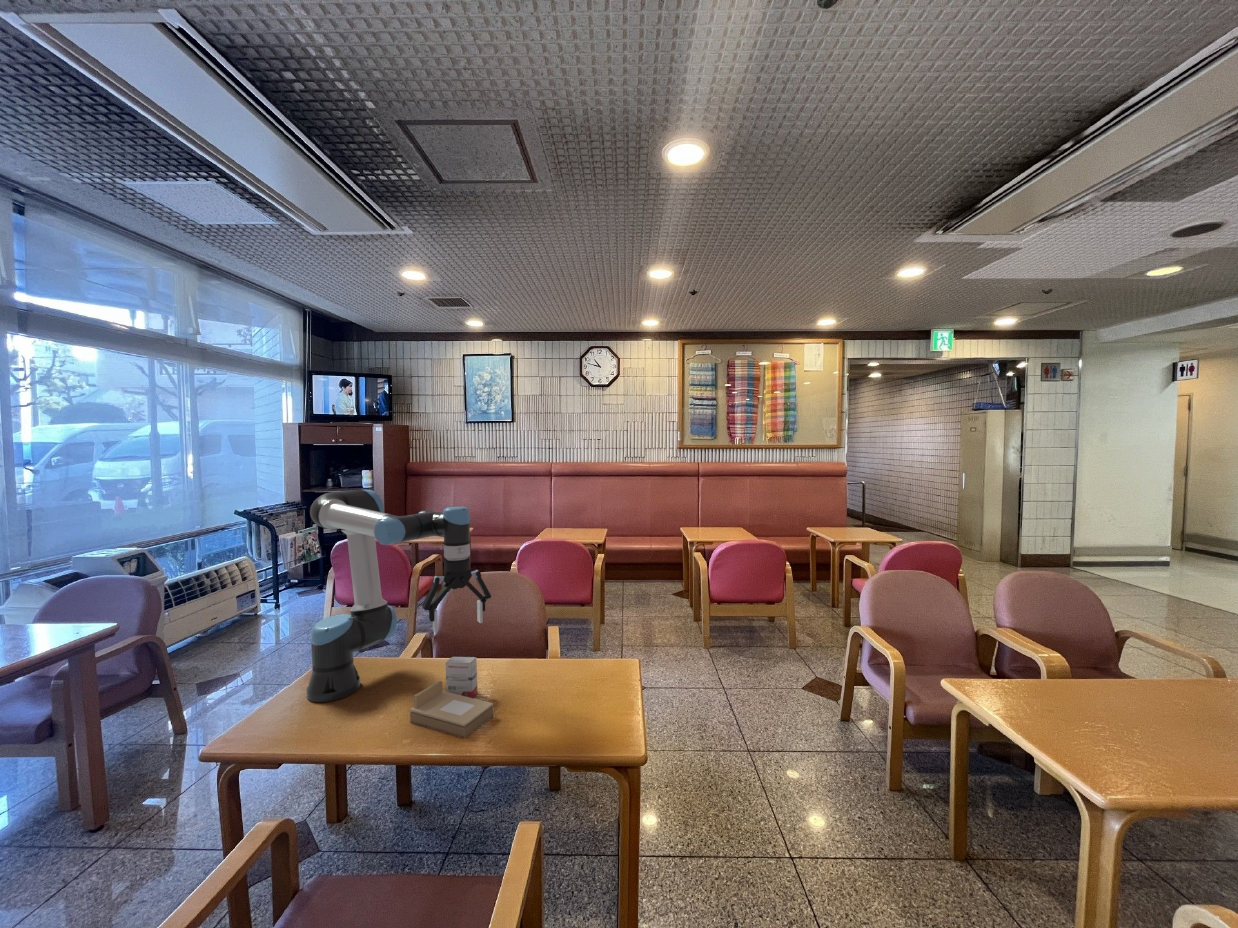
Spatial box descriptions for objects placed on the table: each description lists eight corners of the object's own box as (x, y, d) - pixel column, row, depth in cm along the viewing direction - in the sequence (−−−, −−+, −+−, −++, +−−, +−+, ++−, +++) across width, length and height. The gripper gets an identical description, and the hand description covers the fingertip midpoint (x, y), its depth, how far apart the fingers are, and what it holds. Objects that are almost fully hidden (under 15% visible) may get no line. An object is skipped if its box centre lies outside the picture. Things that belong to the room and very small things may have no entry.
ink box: (478, 692, 159) (477, 656, 158) (472, 700, 154) (471, 662, 154) (452, 691, 160) (451, 655, 159) (445, 699, 155) (445, 662, 154)
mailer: (410, 722, 142) (410, 712, 142) (441, 702, 153) (441, 693, 153) (464, 738, 134) (464, 727, 133) (493, 716, 144) (493, 706, 144)
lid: (410, 711, 142) (409, 696, 141) (440, 692, 153) (440, 678, 152) (464, 726, 133) (464, 711, 133) (493, 705, 144) (492, 691, 144)
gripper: (417, 566, 140) (418, 639, 141) (501, 554, 154) (501, 621, 155) (410, 560, 146) (412, 631, 147) (492, 550, 160) (493, 614, 161)
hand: (458, 626), depth 151 cm, fingers open, 13 cm apart
